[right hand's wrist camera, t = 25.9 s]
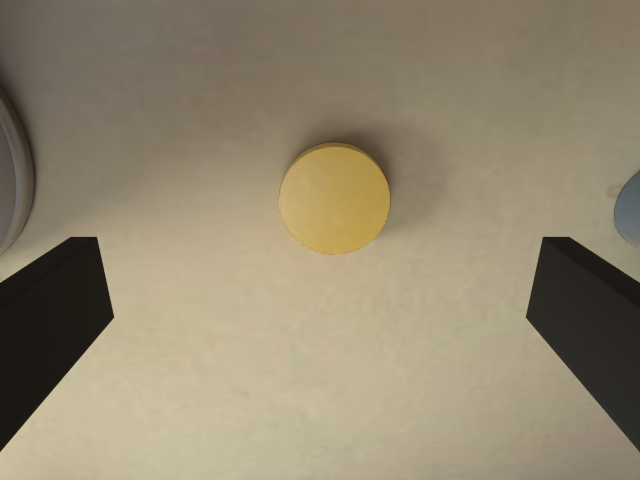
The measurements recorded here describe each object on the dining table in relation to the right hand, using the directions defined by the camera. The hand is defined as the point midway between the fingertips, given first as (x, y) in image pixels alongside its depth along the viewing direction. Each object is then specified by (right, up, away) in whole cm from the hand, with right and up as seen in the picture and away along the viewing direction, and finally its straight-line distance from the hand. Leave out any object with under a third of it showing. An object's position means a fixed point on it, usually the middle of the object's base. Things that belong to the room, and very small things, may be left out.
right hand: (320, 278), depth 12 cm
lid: (+1, +3, +10) cm, 10 cm away
